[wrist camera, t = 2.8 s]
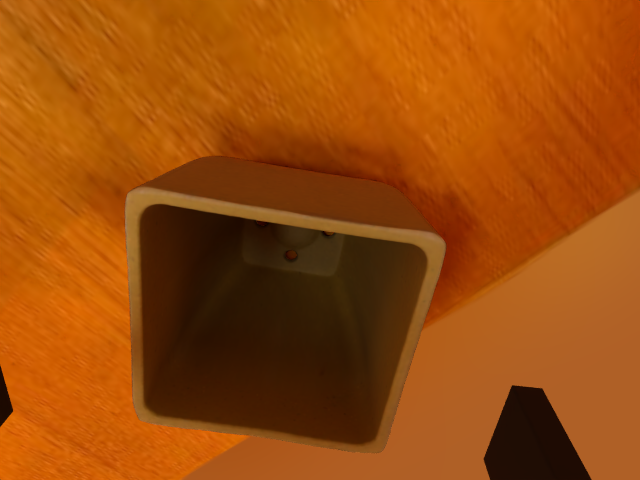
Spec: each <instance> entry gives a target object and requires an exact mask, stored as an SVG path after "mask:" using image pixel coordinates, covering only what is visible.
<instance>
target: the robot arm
mask: <svg viewBox="0 0 640 480" xmlns="http://www.w3.org/2000/svg"><path fill="white" fill-rule="evenodd" d="M12 412H13V408H12V405H11V401H10V398H9V394H8V391H7V387H6V384H5V380H4V377H3V373H2V370H1V366H0V427H1V425H2V424H3V423H4V422H5V420H6V419H7V418H8V417H9V416H10V414H11V413H12ZM484 462H485V465H486V468H487V471H488V474H489V477H490V480H591V478H590V476H589V474H588V472H587V471H586V469H585V467H584V465H583V463H582V461H581V459H580V458H579V456H578V454H577V452H576V450H575V448H574V447H573V445H572V443H571V441H570V439H569V437H568V436H567V434H566V432H565V430H564V428H563V426H562V424H561V423H560V421H559V419H558V417H557V415H556V413H555V411H554V410H553V408H552V406H551V404H550V402H549V400H548V399H547V397H546V395H545V393H544V391H543V389H542V388H533V387H523V386H512V387H511V389H510V392H509V395H508V398H507V400H506V402H505V405H504V407H503V410H502V413H501V415H500V418H499V421H498V423H497V426H496V428H495V431H494V433H493V436H492V439H491V441H490V444H489V446H488V449H487V452H486V454H485V457H484Z"/></svg>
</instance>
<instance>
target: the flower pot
mask: <svg viewBox="0 0 640 480" xmlns="http://www.w3.org/2000/svg"><path fill="white" fill-rule="evenodd" d="M256 220H259V221H264V222H268V223H267V224H266V225H264V226H261V225H259V224H258V223H257V221H256ZM323 231H327V232H334V234H333V235H331V236H326V235H324V234H323ZM125 233H126V250H127V263H128V286H129V302H130V326H131V354H132V397H133V404H134V408H135V411H136V414H137V416H138V418H139V420H141V421H144V422H147V423H151V424H157V425H163V426H170V427H179V428H186V429H195V430H205V431H213V432H220V433H230V434H239V435H250V436H256V437H262V438H270V439H276V440H282V441H288V442H294V443H299V444H305V445H311V446H317V447H324V448H330V449H338V450H342V451H348V452H360V453H380V452H382V451H383V449H384V448H385V446H386V444H387V441H388V437H389V434H390V431H391V427H392V424H393V421H394V417H395V414H396V411H397V407H398V404H399V400H400V397H401V393H402V391H403V387H404V384H405V381H406V378H407V375H408V371H409V369H410V365H411V362H412V358H413V356H414V352H415V350H416V347H417V344H418V341H419V338H420V334H421V331H422V327H423V324H424V321H425V318H426V315H427V312H428V310H429V307H430V304H431V300H432V297H433V294H434V290H435V287H436V284H437V281H438V278H439V275H440V272H441V269H442V265H443V261H444V256H445V253H446V243H445V241H444V239H443V238H442V237H441V236H440V235H439V234H438V233H437V231H436V230H435V229H434V228H433V227H432V225H431V224H430V223H429V222H428V221H427V220H426V219H425V217H424V216H423V215H422V214H421V212H420V211H419V210H418V209H417V208H416V207H415V206H414V205H413V203H412V202H411V201H410V200H409V199H408V198H407V197H406V196H405V195H404V194H403V193H402V192H401V191H399V190H398V189H396V188H395V187H393V186H390V185H388V184H385V183H382V182H378V181H373V180H367V179H359V178H352V177H346V176H339V175H333V174H326V173H320V172H314V171H307V170H301V169H295V168H289V167H283V166H277V165H271V164H265V163H260V162H254V161H249V160H244V159H238V158H232V157H224V156H209V157H202V158H199V159H196V160H193V161H191V162H188V163H186V164H184V165H182V166H180V167H178V168H175V169H173V170H171V171H169V172H167V173H165V174H163V175H161V176H159V177H157V178H155V179H153V180H151V181H148V182H146V183H144V184H142V185H140V186H138V187H136V188H134V189H133V190H131V191H130V192H128V194H127V196H126V202H125ZM289 250H293V251H295V252H296V254H297V256H296V258H295V259H292V260H291V259H288V258H287V257H286V252H287V251H289Z"/></svg>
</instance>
